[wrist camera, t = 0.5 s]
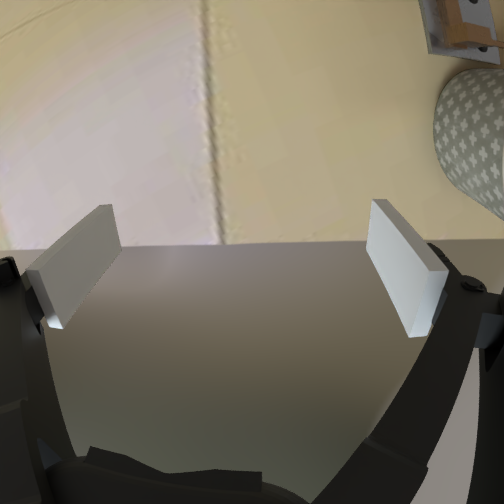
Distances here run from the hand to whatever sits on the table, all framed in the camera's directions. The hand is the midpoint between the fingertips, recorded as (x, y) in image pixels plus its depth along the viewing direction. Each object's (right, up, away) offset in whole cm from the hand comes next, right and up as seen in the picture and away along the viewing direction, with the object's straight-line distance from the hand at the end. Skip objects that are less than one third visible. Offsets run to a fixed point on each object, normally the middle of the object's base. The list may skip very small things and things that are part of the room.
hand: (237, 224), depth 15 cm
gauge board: (+29, +35, +10) cm, 47 cm away
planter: (+34, +17, +20) cm, 42 cm away
